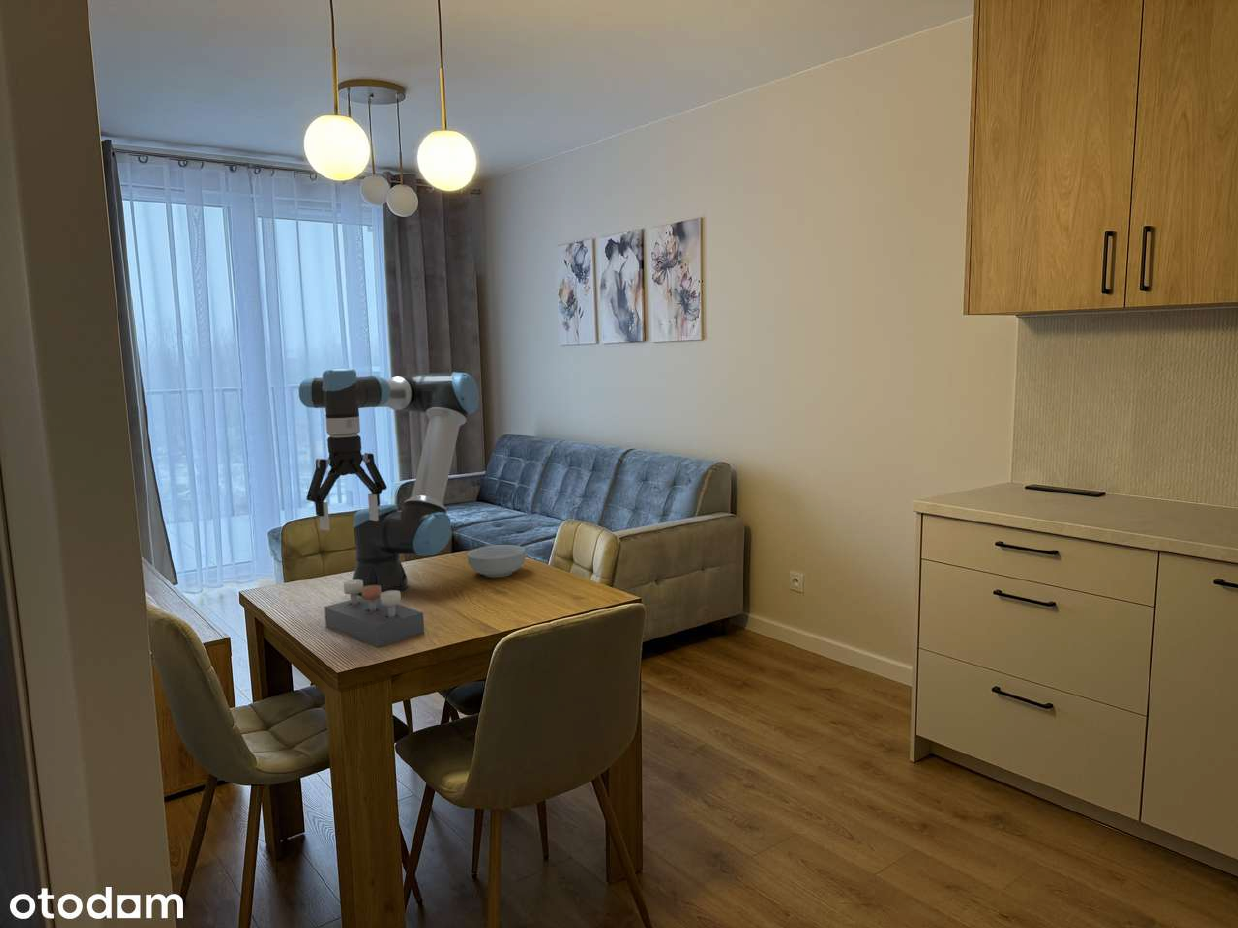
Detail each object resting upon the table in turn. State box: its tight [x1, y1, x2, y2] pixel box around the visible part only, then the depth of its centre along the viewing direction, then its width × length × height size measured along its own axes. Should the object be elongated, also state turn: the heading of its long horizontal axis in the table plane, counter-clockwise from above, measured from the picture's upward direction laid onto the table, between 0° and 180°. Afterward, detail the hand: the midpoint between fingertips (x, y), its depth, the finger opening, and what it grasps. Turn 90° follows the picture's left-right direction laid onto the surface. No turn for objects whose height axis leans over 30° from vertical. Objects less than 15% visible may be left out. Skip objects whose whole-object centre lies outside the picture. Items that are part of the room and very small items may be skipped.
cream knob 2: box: [380, 590, 402, 618], centre depth 187 cm, size 4×4×7 cm
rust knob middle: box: [361, 585, 382, 612], centre depth 193 cm, size 4×4×7 cm
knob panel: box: [323, 596, 425, 648], centre depth 193 cm, size 12×23×5 cm, turn 48°
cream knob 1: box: [343, 579, 363, 606], centre depth 198 cm, size 4×4×7 cm
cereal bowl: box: [467, 544, 527, 579], centre depth 241 cm, size 17×17×7 cm
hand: (350, 525), depth 196 cm, fingers open, 12 cm apart
